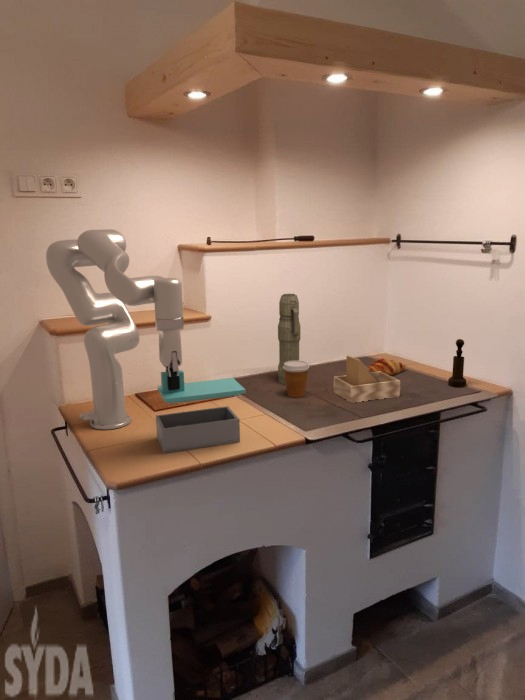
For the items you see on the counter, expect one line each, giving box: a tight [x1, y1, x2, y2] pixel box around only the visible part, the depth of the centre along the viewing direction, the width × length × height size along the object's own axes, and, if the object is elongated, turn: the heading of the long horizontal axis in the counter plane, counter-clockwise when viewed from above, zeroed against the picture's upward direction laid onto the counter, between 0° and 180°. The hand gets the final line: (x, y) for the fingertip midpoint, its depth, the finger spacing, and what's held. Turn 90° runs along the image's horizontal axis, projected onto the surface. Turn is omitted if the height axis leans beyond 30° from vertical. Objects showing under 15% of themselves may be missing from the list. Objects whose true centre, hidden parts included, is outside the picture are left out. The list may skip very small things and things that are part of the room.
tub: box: [155, 405, 241, 455], centre depth 154 cm, size 22×12×7 cm, turn 109°
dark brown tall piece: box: [447, 338, 467, 388], centre depth 201 cm, size 7×6×18 cm
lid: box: [157, 369, 247, 404], centre depth 151 cm, size 23×13×8 cm, turn 109°
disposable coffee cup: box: [283, 360, 310, 398], centre depth 193 cm, size 10×10×12 cm
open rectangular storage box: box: [333, 371, 401, 404], centre depth 193 cm, size 20×14×6 cm
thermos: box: [277, 293, 301, 386], centre depth 206 cm, size 9×12×35 cm
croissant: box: [366, 357, 407, 376], centre depth 220 cm, size 21×10×8 cm, turn 116°
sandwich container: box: [345, 355, 380, 386], centre depth 192 cm, size 9×15×15 cm, turn 114°
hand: (172, 387), depth 149 cm, fingers closed on lid, 2 cm apart
